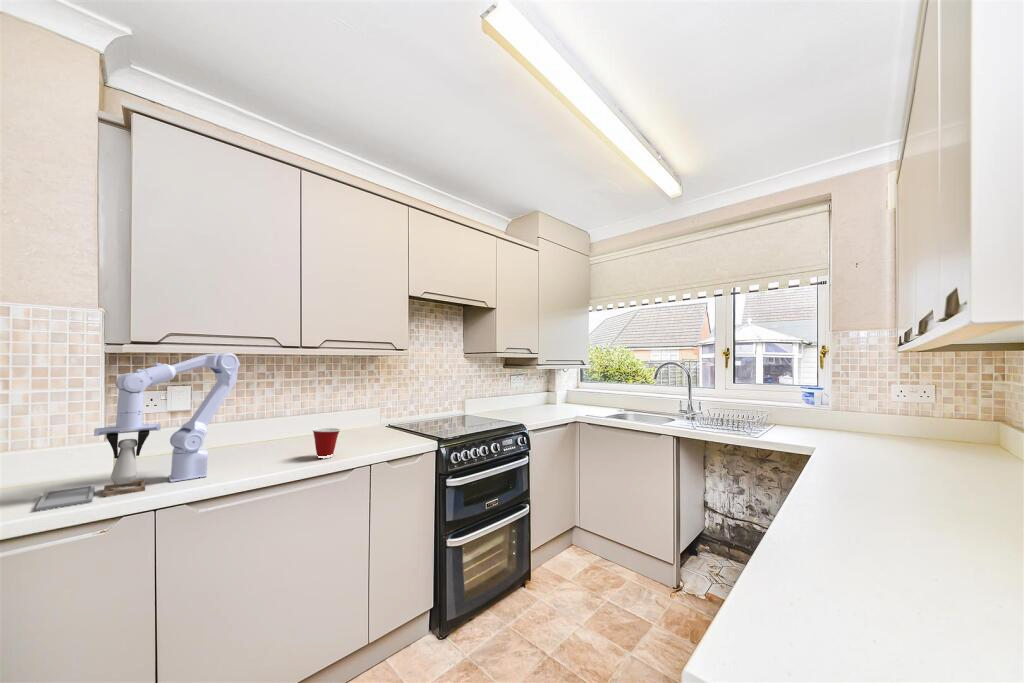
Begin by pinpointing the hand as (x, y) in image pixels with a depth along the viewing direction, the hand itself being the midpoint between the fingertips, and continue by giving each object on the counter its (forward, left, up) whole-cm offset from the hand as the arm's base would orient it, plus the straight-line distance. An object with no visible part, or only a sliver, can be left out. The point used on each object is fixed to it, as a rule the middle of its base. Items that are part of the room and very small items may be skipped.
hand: (127, 456), depth 119 cm
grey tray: (+12, 0, -10) cm, 15 cm away
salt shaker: (0, +1, -8) cm, 8 cm away
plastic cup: (-59, -2, -10) cm, 60 cm away
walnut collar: (0, 0, -10) cm, 10 cm away
